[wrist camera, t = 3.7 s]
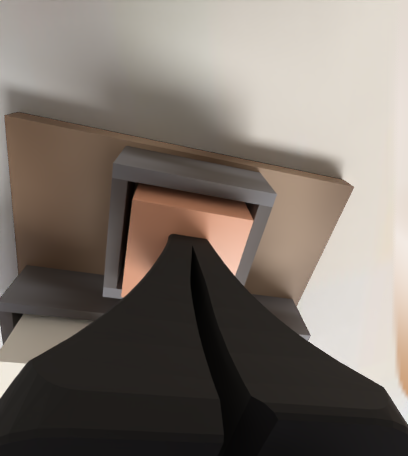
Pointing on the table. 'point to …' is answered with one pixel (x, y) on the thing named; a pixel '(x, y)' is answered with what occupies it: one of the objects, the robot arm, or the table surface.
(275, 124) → the table surface
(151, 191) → the terracotta key
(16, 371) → the cream key
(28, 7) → the table surface
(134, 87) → the table surface
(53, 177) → the key panel
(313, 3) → the table surface
